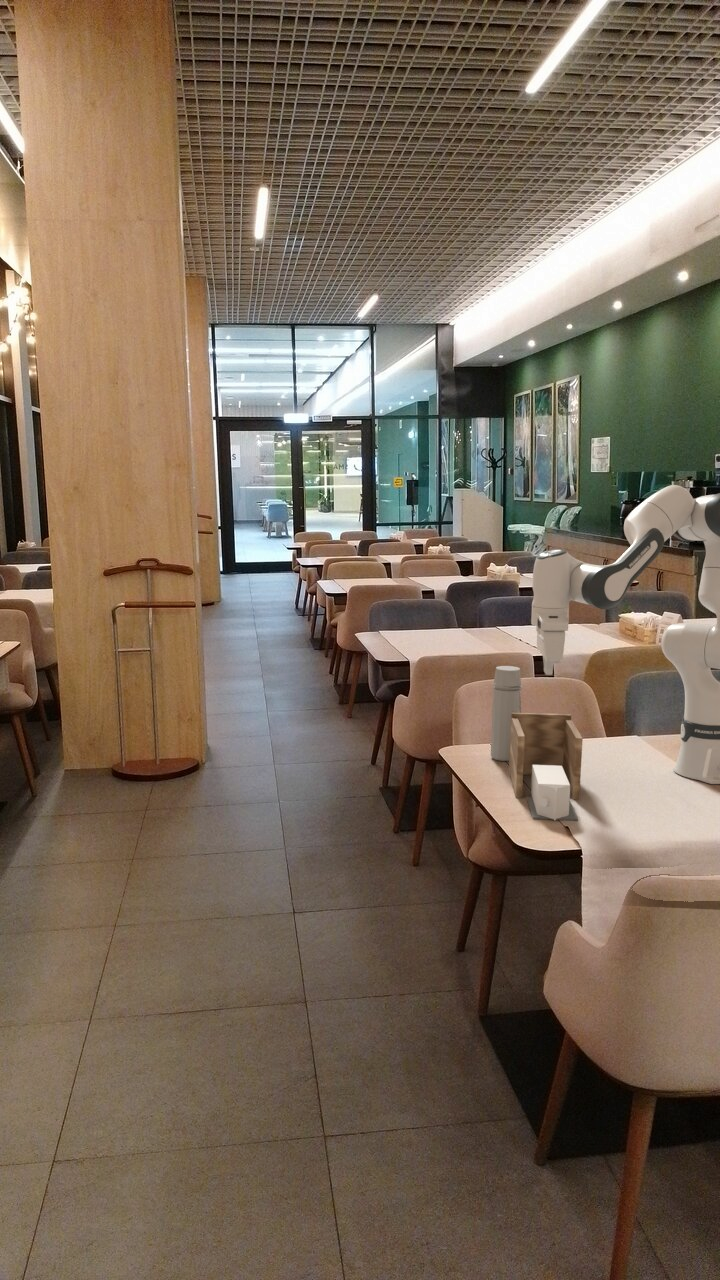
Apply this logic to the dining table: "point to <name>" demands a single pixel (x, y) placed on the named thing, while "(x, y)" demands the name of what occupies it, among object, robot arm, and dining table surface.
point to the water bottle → (504, 709)
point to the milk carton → (550, 791)
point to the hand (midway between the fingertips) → (548, 673)
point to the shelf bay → (544, 747)
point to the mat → (534, 814)
